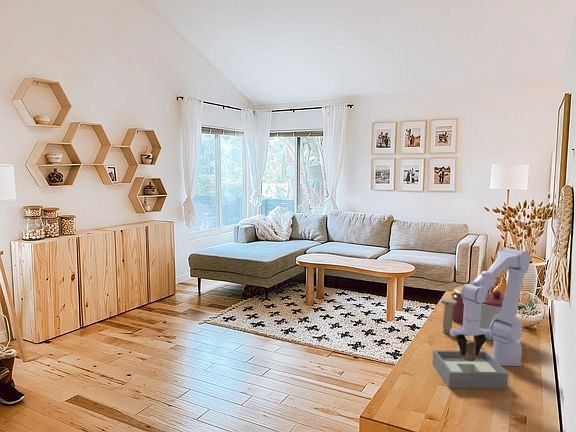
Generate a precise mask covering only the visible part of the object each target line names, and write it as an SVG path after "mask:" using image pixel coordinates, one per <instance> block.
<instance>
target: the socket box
mask: <svg viewBox="0 0 576 432" xmlns="http://www.w3.org/2000/svg"><path fill="white" fill-rule="evenodd" d="M492 356H493V355H492ZM492 356H491V355H490V353H488V351H487V350H480V352H479V355H478V356H476V358H475V361H467V360H464V359H463V358H462V355H461V354H460V350H442V349H441V350H440V349H438V350H435V349H433V350H432V362H431V364H432V366H433V368H434V369H435V370H436V372H437V373H438V375H439V377H441V379H442V381H443V382H444V384H445V385H446V387H447V388H448V389H489V390H490V389H495V390H496V389H501V390H503V389H504V390H507V389H508V382H509V372H508V371H506V370H505V369H504V367H503V366H500V365H499V363H498V362H497V361H496V360H495V359H494V358H493V357H492Z"/></svg>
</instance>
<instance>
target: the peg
mask: <svg viewBox="0 0 576 432" xmlns="http://www.w3.org/2000/svg"><path fill="white" fill-rule="evenodd" d="M462 358H463V359H464V360H467V361H475V358H476V342H475V341H474V340H470V339H467V343H466V347H465V356H462Z"/></svg>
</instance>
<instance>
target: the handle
mask: <svg viewBox="0 0 576 432" xmlns="http://www.w3.org/2000/svg"><path fill="white" fill-rule="evenodd" d="M440 302H441V304H443V305H444V308H443V317H442V333H443V334H445V335H450V329H453V328H452V327H453V320H452V308H453V306H454V305H456V303H457V301H456V300H452V298H444V297H443V298H441V299H440Z"/></svg>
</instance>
